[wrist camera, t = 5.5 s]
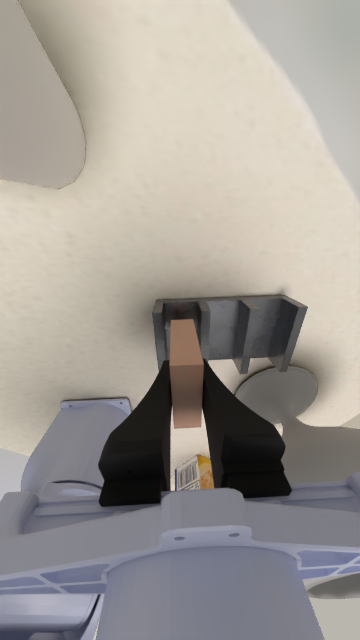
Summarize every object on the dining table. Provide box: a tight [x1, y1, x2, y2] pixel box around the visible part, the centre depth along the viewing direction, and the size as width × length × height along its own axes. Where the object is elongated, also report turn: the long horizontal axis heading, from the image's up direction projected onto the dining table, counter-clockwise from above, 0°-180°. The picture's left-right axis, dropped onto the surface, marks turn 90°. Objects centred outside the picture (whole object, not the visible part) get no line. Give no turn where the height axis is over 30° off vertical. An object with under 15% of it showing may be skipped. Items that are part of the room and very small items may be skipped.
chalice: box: [235, 366, 360, 599], centre depth 18 cm, size 14×14×15 cm
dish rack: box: [152, 295, 308, 374], centre depth 18 cm, size 14×8×4 cm, turn 92°
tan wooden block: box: [170, 319, 204, 429], centre depth 14 cm, size 2×6×6 cm, turn 2°
